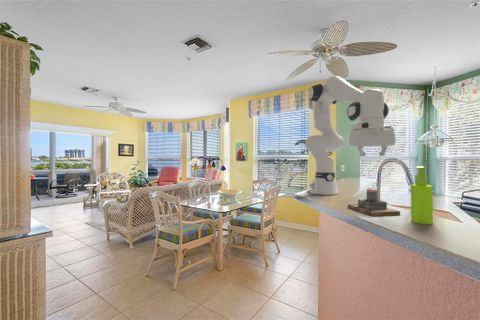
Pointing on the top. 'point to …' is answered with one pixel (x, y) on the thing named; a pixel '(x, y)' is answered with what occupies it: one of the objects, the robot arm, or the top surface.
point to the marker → (372, 195)
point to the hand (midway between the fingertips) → (372, 156)
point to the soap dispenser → (421, 199)
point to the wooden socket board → (373, 208)
